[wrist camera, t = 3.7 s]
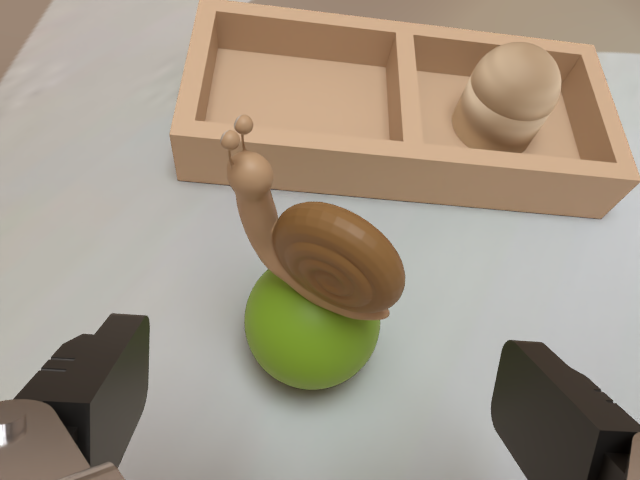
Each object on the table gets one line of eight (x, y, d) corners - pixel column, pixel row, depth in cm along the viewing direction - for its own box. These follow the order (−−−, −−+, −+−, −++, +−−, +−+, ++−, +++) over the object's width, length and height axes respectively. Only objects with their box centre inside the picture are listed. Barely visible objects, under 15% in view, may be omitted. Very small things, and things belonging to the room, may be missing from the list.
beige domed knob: (522, 102, 32) (568, 28, 28) (536, 162, 30) (589, 92, 25) (448, 94, 32) (482, 17, 27) (456, 154, 29) (495, 81, 25)
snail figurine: (266, 258, 26) (279, 62, 16) (385, 323, 25) (483, 159, 15) (201, 352, 23) (164, 191, 13) (331, 428, 22) (404, 320, 12)
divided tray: (563, 89, 35) (593, 45, 32) (601, 218, 30) (641, 180, 27) (204, 48, 33) (199, -3, 30) (177, 180, 27) (169, 134, 24)
